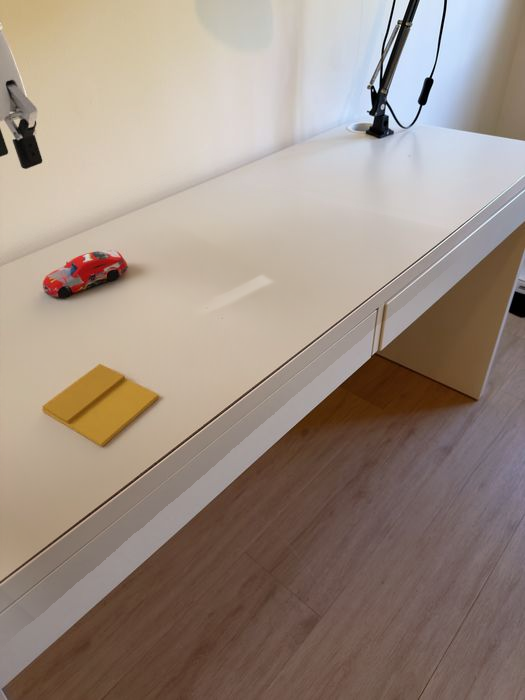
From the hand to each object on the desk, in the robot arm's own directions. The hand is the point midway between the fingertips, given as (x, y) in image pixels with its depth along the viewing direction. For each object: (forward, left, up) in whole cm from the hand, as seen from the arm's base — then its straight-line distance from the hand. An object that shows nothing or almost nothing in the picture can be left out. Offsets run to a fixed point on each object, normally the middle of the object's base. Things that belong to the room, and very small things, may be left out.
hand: (15, 160), depth 76 cm
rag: (-18, -32, -18) cm, 41 cm away
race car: (0, -9, -18) cm, 20 cm away
